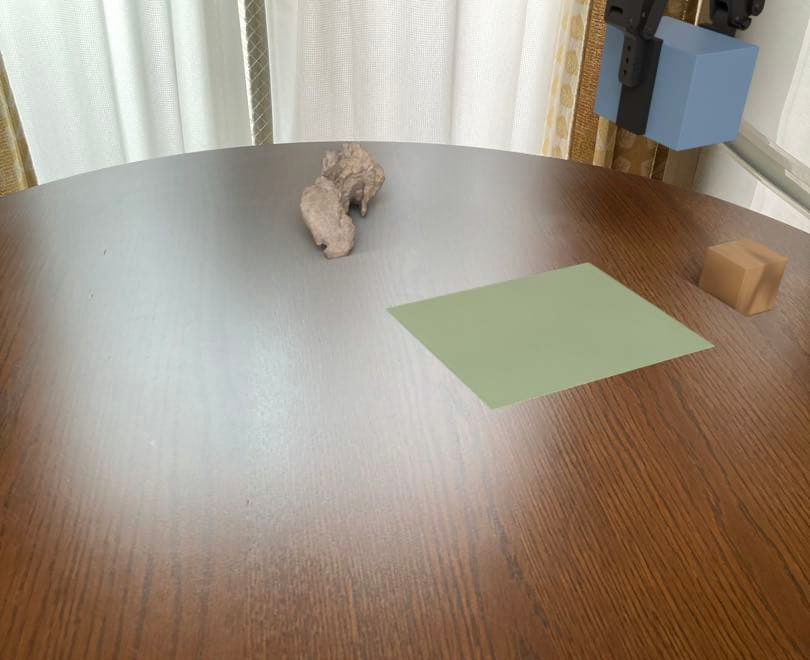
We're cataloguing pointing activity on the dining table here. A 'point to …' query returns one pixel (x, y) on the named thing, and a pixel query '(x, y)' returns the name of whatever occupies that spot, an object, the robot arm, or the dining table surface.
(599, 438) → the dining table surface
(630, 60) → the robot arm
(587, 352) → the tray
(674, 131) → the sponge
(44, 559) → the dining table surface
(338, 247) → the rock
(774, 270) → the cork block
